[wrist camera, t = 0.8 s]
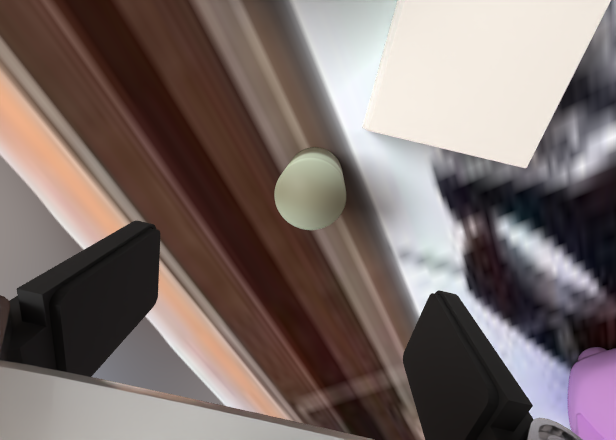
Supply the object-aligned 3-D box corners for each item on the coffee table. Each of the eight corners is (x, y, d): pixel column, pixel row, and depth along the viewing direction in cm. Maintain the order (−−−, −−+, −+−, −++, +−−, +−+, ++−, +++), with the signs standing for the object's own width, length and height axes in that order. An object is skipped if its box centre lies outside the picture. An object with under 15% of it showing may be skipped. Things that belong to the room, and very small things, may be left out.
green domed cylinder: (293, 141, 26) (281, 153, 19) (348, 154, 26) (354, 170, 20) (283, 194, 28) (269, 221, 21) (334, 206, 28) (335, 236, 21)
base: (410, -47, 21) (427, -80, 17) (573, -6, 21) (626, -30, 17) (362, 127, 25) (367, 130, 21) (497, 159, 25) (526, 168, 22)
